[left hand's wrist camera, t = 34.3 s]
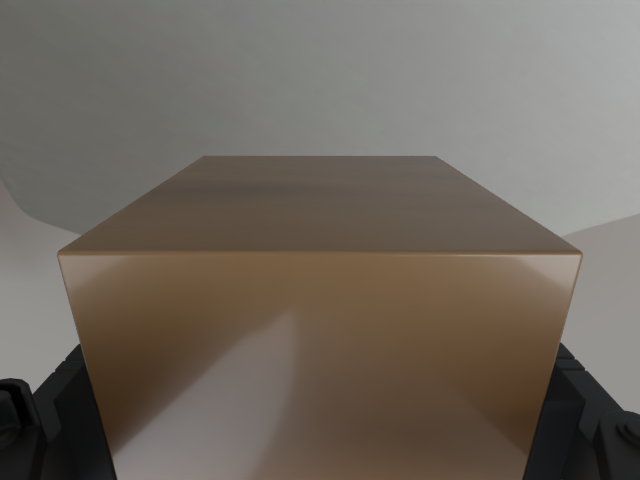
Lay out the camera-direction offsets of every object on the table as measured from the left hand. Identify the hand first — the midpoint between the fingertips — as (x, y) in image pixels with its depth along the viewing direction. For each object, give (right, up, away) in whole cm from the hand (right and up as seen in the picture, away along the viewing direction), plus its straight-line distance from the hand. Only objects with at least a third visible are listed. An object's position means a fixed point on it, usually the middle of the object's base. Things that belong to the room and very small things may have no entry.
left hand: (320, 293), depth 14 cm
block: (0, +1, +2) cm, 2 cm away
